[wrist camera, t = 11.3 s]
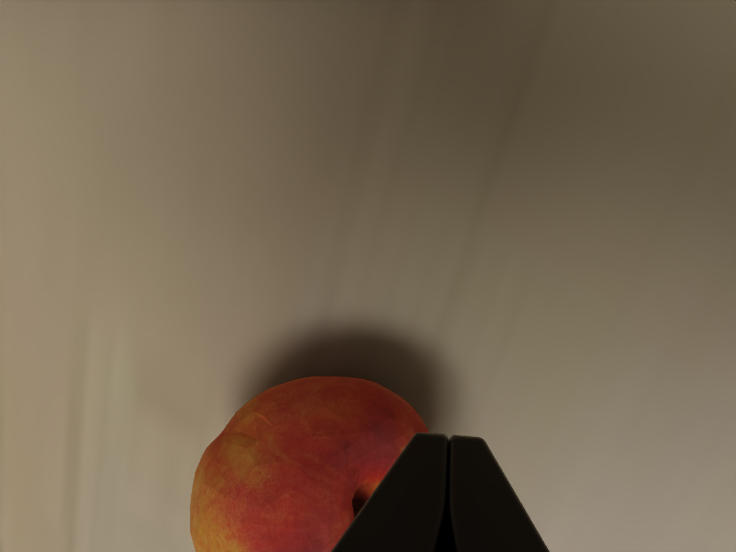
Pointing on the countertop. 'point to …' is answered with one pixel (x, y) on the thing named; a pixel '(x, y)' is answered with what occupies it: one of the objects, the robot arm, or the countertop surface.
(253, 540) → the fruit
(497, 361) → the countertop surface
